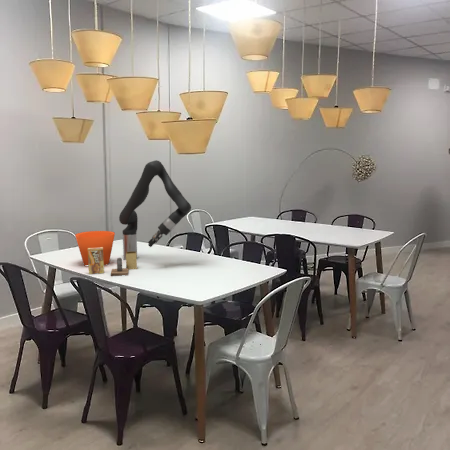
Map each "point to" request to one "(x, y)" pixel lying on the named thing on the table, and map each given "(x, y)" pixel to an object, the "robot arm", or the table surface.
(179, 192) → the robot arm
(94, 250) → the candy box
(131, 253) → the sleeve
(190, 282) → the table surface
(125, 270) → the post base
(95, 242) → the flowerpot
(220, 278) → the table surface
